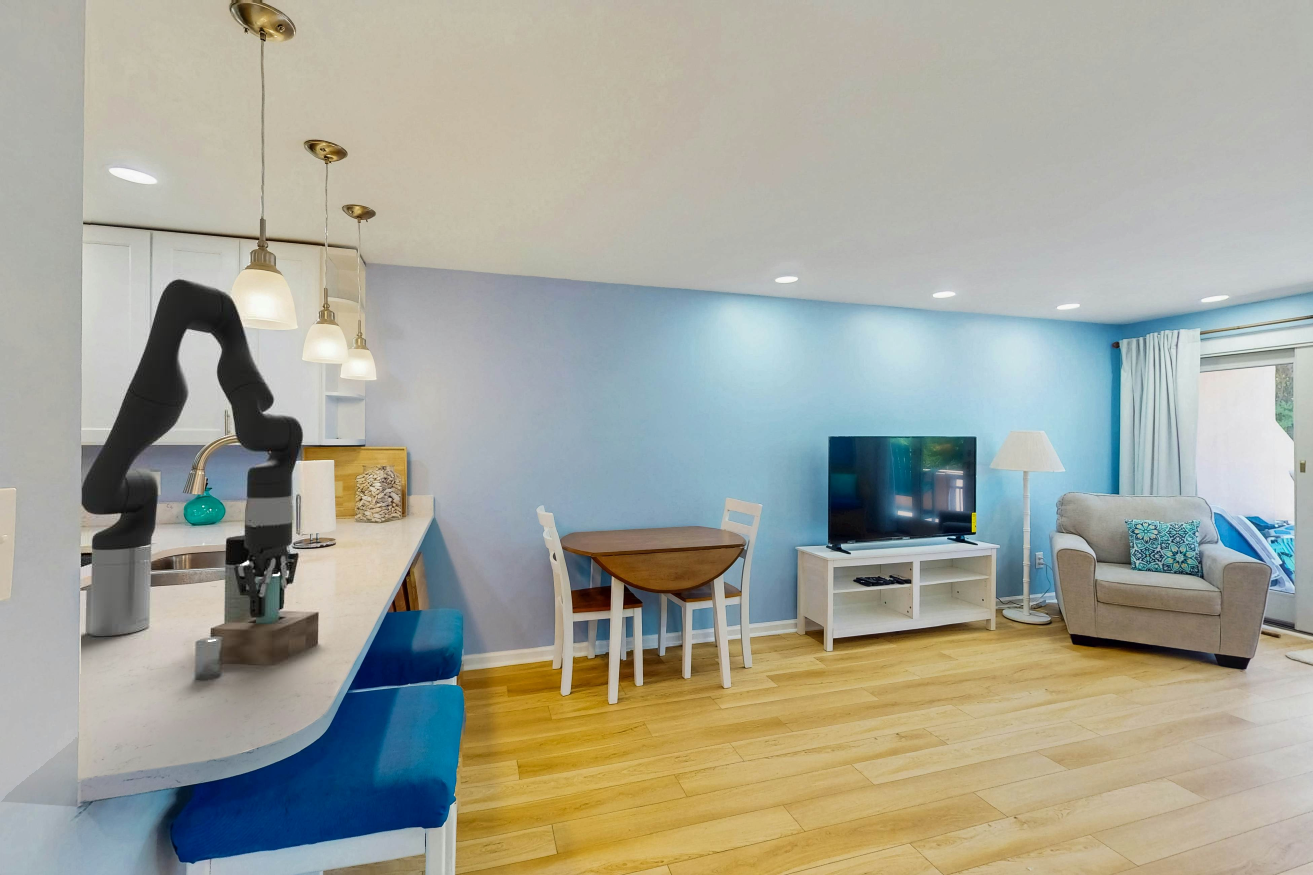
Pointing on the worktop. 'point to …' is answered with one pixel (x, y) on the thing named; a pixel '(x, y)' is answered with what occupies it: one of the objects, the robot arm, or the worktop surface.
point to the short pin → (208, 658)
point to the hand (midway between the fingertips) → (267, 612)
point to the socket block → (267, 638)
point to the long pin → (271, 601)
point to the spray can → (233, 600)
